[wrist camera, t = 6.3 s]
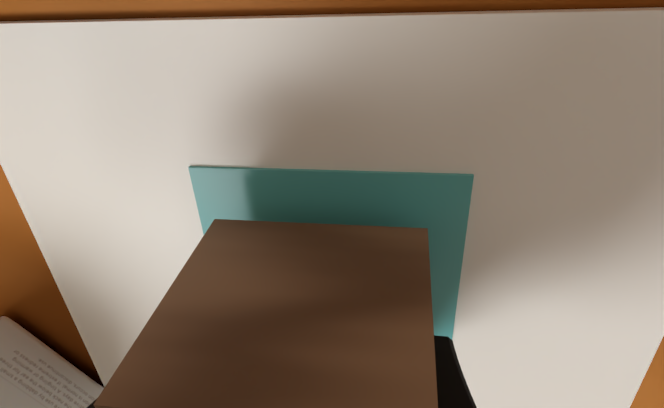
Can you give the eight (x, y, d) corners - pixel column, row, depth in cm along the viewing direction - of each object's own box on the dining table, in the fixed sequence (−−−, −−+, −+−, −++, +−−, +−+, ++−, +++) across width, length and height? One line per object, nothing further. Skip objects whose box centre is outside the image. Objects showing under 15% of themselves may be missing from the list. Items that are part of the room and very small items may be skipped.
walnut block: (427, 228, 10) (440, 442, 6) (416, 375, 13) (419, 597, 9) (214, 219, 11) (93, 404, 7) (244, 360, 14) (170, 558, 9)
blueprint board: (806, 4, 8) (823, 7, 8) (603, 448, 16) (607, 459, 15) (-54, 22, 11) (-69, 25, 11) (115, 396, 18) (110, 404, 18)
